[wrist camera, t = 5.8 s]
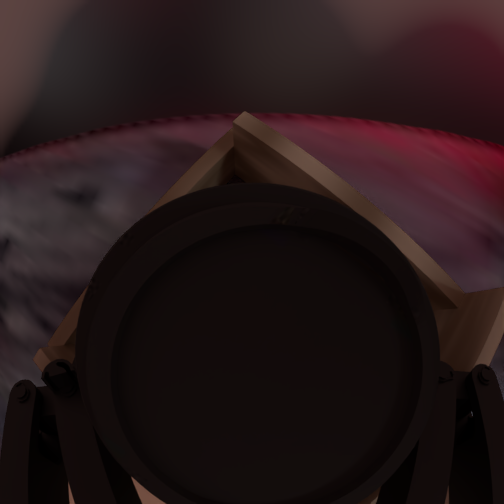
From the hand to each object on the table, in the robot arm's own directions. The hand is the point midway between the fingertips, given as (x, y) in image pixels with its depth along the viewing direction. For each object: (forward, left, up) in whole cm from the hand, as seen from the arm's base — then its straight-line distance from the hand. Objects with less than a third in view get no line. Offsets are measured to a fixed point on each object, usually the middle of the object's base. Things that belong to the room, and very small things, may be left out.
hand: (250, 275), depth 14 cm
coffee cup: (-2, +2, -6) cm, 7 cm away
